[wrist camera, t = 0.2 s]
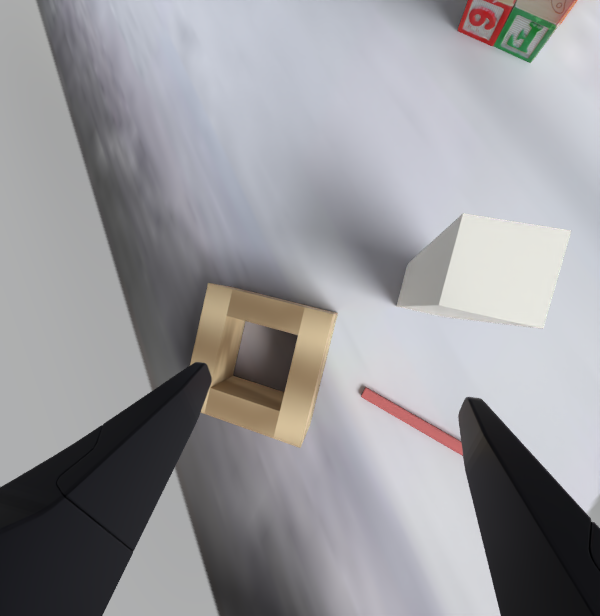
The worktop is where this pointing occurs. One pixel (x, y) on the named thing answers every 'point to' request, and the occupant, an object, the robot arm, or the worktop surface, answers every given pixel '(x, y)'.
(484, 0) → the stack of blocks
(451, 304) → the white rectangular block
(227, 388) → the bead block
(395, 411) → the red square stick
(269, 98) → the worktop surface
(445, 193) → the worktop surface
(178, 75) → the worktop surface
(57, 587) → the robot arm
